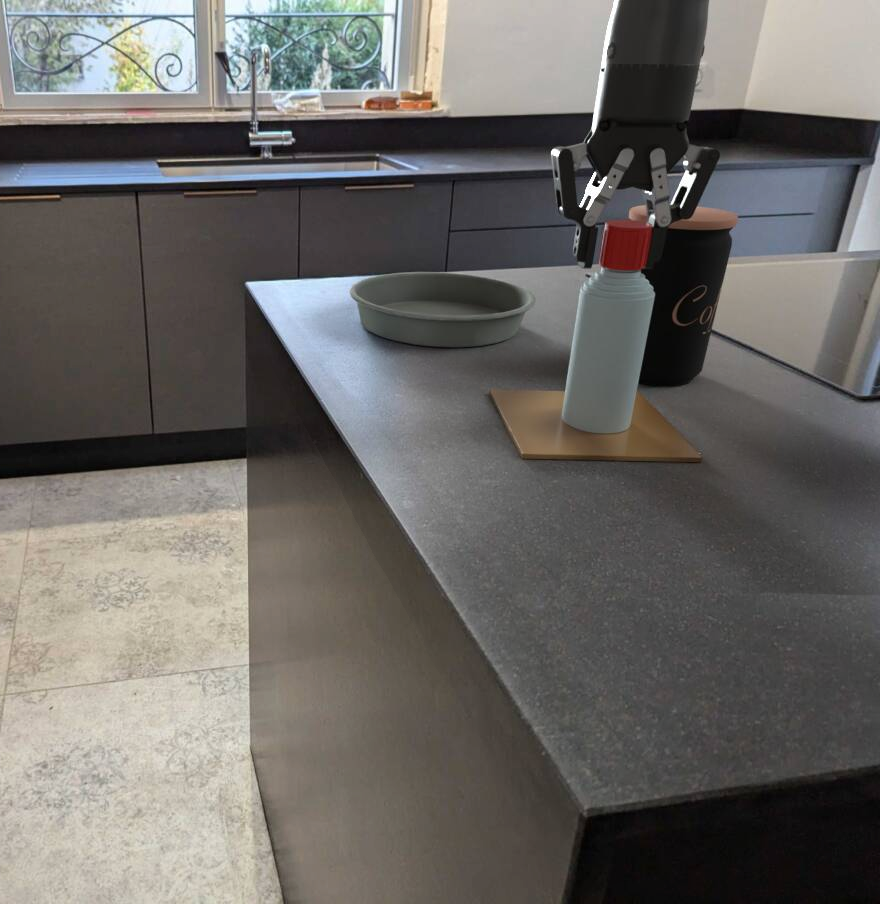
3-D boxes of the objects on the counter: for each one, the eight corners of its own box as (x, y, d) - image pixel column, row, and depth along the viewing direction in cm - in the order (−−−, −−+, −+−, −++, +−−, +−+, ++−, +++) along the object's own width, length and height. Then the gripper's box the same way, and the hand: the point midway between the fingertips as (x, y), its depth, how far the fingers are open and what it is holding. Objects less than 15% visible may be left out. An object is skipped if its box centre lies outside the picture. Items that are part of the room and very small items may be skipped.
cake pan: (564, 323, 113) (569, 290, 111) (467, 366, 97) (471, 329, 95) (416, 291, 128) (418, 262, 126) (311, 324, 112) (312, 291, 110)
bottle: (617, 407, 84) (650, 222, 76) (640, 433, 78) (679, 236, 70) (553, 407, 84) (580, 222, 76) (571, 433, 78) (603, 237, 70)
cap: (592, 260, 76) (599, 219, 75) (636, 260, 76) (644, 219, 74) (605, 270, 73) (612, 228, 71) (652, 270, 72) (660, 228, 71)
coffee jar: (666, 395, 89) (704, 224, 81) (582, 368, 96) (609, 210, 89) (718, 375, 94) (758, 214, 87) (634, 351, 102) (664, 201, 94)
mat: (638, 396, 88) (639, 392, 88) (701, 462, 74) (702, 457, 74) (488, 394, 89) (489, 389, 89) (521, 458, 74) (522, 453, 74)
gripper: (719, 59, 71) (677, 258, 78) (550, 59, 71) (525, 257, 78) (761, 59, 64) (712, 277, 71) (575, 60, 64) (544, 276, 72)
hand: (614, 266), depth 75 cm, fingers open, 4 cm apart
